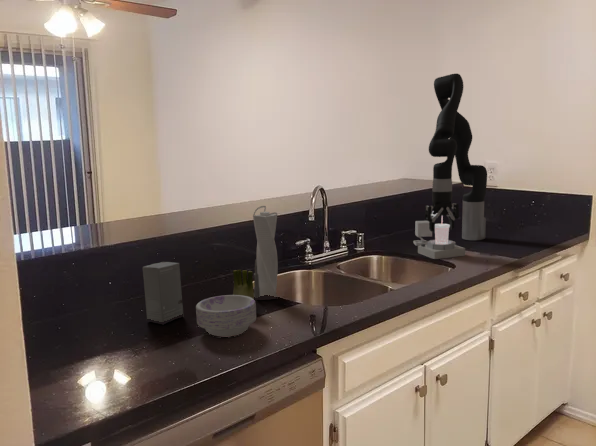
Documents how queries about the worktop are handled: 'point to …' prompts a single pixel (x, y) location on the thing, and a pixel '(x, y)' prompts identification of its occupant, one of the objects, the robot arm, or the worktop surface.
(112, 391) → the worktop surface
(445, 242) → the beverage cup
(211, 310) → the paper bowls
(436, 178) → the robot arm
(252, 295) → the fennel bulb
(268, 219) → the skyscraper
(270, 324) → the worktop surface
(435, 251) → the mount block
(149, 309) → the skincare box
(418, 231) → the security camera
